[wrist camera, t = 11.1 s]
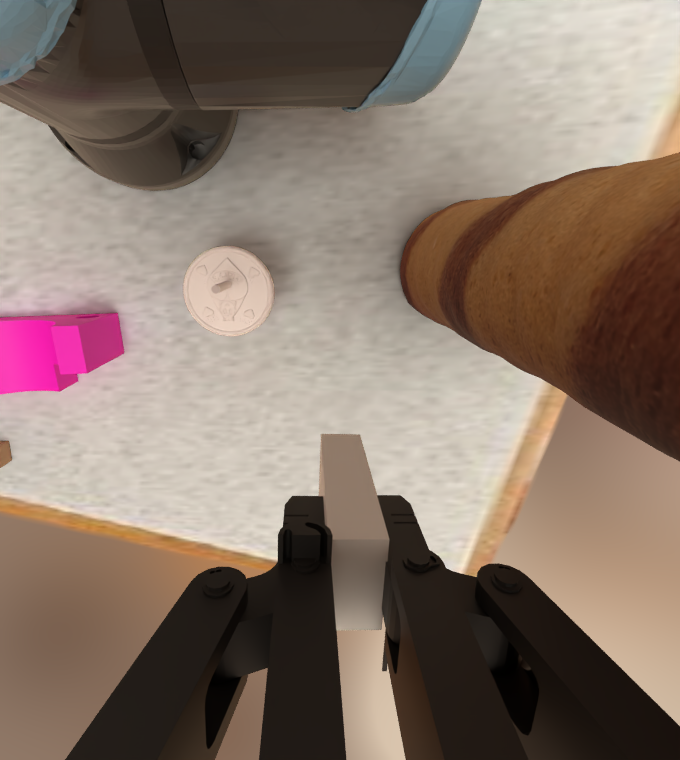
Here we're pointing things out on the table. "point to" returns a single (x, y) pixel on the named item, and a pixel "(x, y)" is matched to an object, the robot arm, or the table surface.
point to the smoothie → (228, 290)
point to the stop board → (4, 453)
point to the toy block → (55, 349)
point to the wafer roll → (569, 287)
